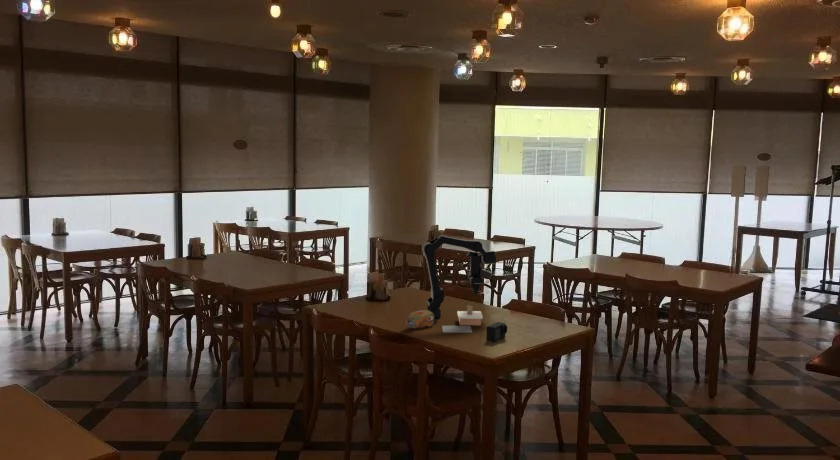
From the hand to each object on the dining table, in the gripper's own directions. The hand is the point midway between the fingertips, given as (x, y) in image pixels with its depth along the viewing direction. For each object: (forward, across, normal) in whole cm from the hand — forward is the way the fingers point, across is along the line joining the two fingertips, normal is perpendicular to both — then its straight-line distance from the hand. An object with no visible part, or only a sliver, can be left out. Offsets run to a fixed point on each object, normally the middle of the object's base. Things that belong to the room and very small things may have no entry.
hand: (475, 293), depth 375 cm
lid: (+8, -16, +4) cm, 18 cm away
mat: (+12, -28, +11) cm, 33 cm away
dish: (+12, -16, +4) cm, 20 cm away
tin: (+12, -24, +29) cm, 40 cm away
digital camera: (+12, -46, -7) cm, 48 cm away
